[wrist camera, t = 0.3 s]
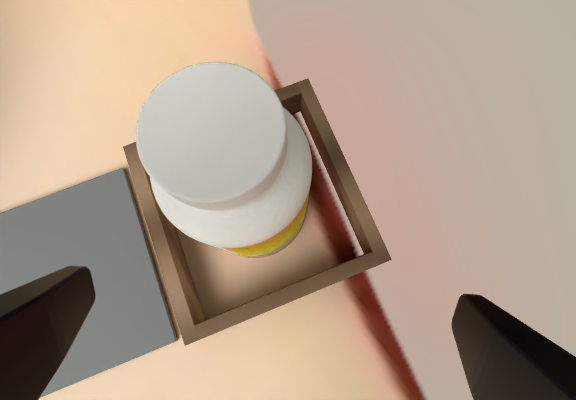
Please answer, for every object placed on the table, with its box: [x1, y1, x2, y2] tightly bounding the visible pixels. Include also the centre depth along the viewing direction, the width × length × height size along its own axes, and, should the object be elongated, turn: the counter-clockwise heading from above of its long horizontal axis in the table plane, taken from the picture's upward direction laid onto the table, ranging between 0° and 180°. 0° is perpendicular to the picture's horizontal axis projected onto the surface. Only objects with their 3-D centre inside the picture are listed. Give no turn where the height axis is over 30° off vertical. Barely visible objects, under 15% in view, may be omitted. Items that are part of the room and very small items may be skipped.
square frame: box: [123, 79, 391, 345], centre depth 22 cm, size 13×13×2 cm
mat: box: [0, 168, 178, 397], centre depth 22 cm, size 12×12×1 cm
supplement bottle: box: [136, 62, 312, 258], centre depth 16 cm, size 7×7×13 cm
